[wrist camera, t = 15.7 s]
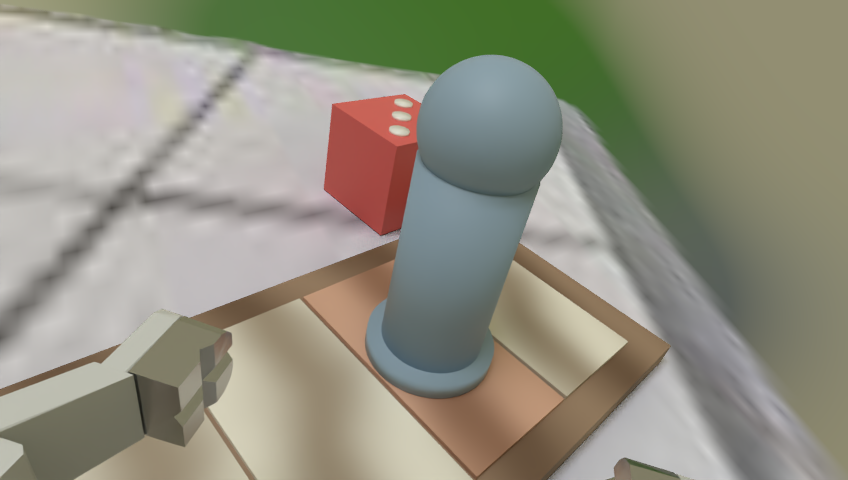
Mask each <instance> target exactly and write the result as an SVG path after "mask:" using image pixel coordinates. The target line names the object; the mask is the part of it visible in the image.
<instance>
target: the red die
mask: <svg viewBox="0 0 848 480" xmlns="http://www.w3.org/2000/svg"><path fill="white" fill-rule="evenodd" d="M420 107H421V103H419V102H418V101H416V100H414V99H412V98H411V97H409V96H407V95H405V94H403V95H396V96H388V97H381V98H373V99H366V100H358V101H351V102H343V103H336V104H332V113H331V123H330V133H329V143H328V153H327V163H326V173H325V183H324V190H326V191H327V192H328V193H329V194H330V195H332V196H333V197H334V198H335V199H337V200H338V201H339V202H340V203H341V204H343V205H344V206H345V207H346V208H348V209H349V210H350V211H351V212H352V213H354V214H355V215H356V216H357V217H359V218H360V219H361V220H362V221H364V222H365V223H366V224H367V225H368V226H370V227H371V228H372V229H373V230H375V231H376V232H377V233H378V234H379V235H384V234H386V233H389V232H392V231H395V230H397V229H400V228H401V227H402V222H403V217H404V212H405V208H406V203H407V198H408V193H409V188H410V183H411V178H412V173H413V168H414V163H415V158H416V153H417V150H418V143H417V131H416V126H417V118H418V114H419V110H420Z"/></svg>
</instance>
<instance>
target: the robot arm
mask: <svg viewBox="0 0 848 480" xmlns="http://www.w3.org/2000/svg"><path fill="white" fill-rule="evenodd" d="M231 346H232V333H230V332H228V331H225V330H222V329H220V328H217V327H214V326H211V325H208V324H205V323H202V322H200V321H197V320H194V319H191V318H188V317H185V316H182V315H179V314H176V313H173V312H170V311H167V310H164V309H161V310H159V311H156V312H154V313H153V314H152V315H151V316H150V317H149V318H148V319H147V320H146V321H145V322H144V323H143V324H142V325H140V326H139V327H138V328H137V329H136V330H135V331H134V332H133V333H132V334H131V335H130V336H129V337H128V338H127V339H126V340H125V341H124V342H123V343H122V344H121V345H120V346H119V347H118V348H117V349H116V350H115V351H114V352H113V353H112V354H111V355H110V356H109V357H108V358H106V359H105V360H104V361H103V362H102V363H101V364H100V363H97V362H92V363H89V364H87V365H84V366H81V367H79V368H76V369H73V370H71V371H68V372H65V373H63V374H60V375H57V376H55V377H52V378H49V379H47V380H44V381H41V382H39V383H36V384H33V385H30V386H28V387H25V388H22V389H20V390H17V391H14V392H12V393H9V394H6V395H4V396H1V397H0V480H74V479H76V478H77V477H79V476H81V475H82V474H84V473H86V472H87V471H89V470H91V469H92V468H94V467H96V466H98V465H99V464H101V463H103V462H104V461H106V460H108V459H109V458H111V457H113V456H114V455H116V454H118V453H119V452H121V451H123V450H125V449H126V448H128V447H130V446H131V445H133V444H135V443H136V442H138V441H140V440H141V439H143V438H144V437H145V436H144V435H146V436H150V437H153V438H156V439H159V440H162V441H166V442H169V443H172V444H175V445H179V446H182V447H186V445H187V444H188V442H189V441H190V440H191V438H192V437H193V435H194V434H195V433H196V431H197V430H198V428H199V427H200V426H201V424H202V423H203V421H204V408H207V407H209V406H211V405H213V404H215V403H217V402H218V400H219V399H220V397H221V396H222V394H223V393H224V391H225V389H226V387H227V385H228V382H229V380H230V378H231V374H232V369H233V359H232V357H231V356H230V355H229V353H228V352H227V351H228V350H229V348H230V347H231ZM614 473H615V477H613V478H610V479H607V480H694V479H690V478H687V477H684V476H681V475H678V474H675V473H673V472H670V471H667V470H664V469H660V468H657V467H654V466H651V465H647V464H644V463H641V462H637V461H634V460H631V459H628V458H623V459H621V460H619V461H618V463H617V464H616V465H615V467H614Z"/></svg>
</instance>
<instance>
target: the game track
mask: <svg viewBox="0 0 848 480" xmlns="http://www.w3.org/2000/svg"><path fill="white" fill-rule="evenodd" d="M398 242H399V239H398V240H395V241H393V242H390V243H387V244H385V245H382V246H379V247H377V248H374V249H372V250H369V251H366V252H364V253H361V254H358V255H356V256H353V257H350V258H348V259H345V260H342V261H340V262H337V263H334V264H332V265H329V266H326V267H324V268H321V269H318V270H316V271H313V272H310V273H308V274H305V275H302V276H300V277H297V278H294V279H292V280H289V281H286V282H284V283H281V284H278V285H276V286H273V287H271V288H268V289H265V290H263V291H260V292H257V293H255V294H252V295H249V296H247V297H244V298H241V299H239V300H236V301H233V302H231V303H228V304H225V305H223V306H220V307H217V308H215V309H212V310H209V311H207V312H204V313H201V314H199V315H196V316H193V317H191V319H194V320H197V321H200V322H202V323H205V324H208V325H211V326H214V327H217V328H220V329H222V330H225V331H228V332H230V333H232V346H231V347H230V348H229V350H228V351H227V352H228V353H229V355H230V356H231V357H232V359H233V369H232V374H231V378H230V380H229V382H228V385H227V387H226V389H225V391H224V393H223V394H222V396H221V397H220V399H219V400H218V402H217V403H215V404H213V405H211V406H209V407H207V408H204V421H203V423H202V424H201V426H200V427H199V428H198V430H197V431H196V433H195V434H194V435H193V437H192V438H191V440H190V441H189V442H188V444H187V445H186V447H182V446H179V445H175V444H172V443H169V442H166V441H162V440H159V439H156V438H153V437H150V436H146V435H144V436H145V437H144V438H143V439H141V440H140V441H138V442H136V443H135V444H133V445H131V446H130V447H128V448H126V449H125V450H123V451H121V452H119V453H118V454H116V455H114V456H113V457H111V458H109V459H108V460H106V461H104V462H103V463H101V464H99V465H98V466H96V467H94V468H92V469H91V470H89V471H87V472H86V473H84V474H82V475H81V476H79V477H77V478H76V479H74V480H547V479H548V478H549V477H550V476H551V475H552V474H553V473H554V472H555V471H556V470H557V469H558V468H559V467H560V466H561V465H562V464H563V462H564V461H565V460H566V459H567V458H568V457H569V456H570V455H571V454H572V453H573V452H574V451H575V450H576V449H577V448H578V447H579V446H580V445H581V444H582V443H583V442H584V441H585V440H586V439H587V438H588V436H589V435H590V434H591V433H592V432H593V431H594V430H595V429H596V428H597V427H598V426H599V425H600V424H601V423H602V422H603V421H604V420H605V419H606V418H607V417H608V416H609V415H610V414H611V413H612V412H613V410H614V409H615V408H616V407H617V406H618V405H619V404H620V403H621V402H622V401H623V400H624V399H625V398H626V397H627V396H628V395H629V394H630V393H631V392H632V391H633V390H634V389H635V388H636V387H637V385H638V384H639V383H640V382H641V381H642V380H643V379H644V378H645V377H646V376H647V375H648V374H649V373H650V372H651V371H652V370H653V369H654V368H655V367H656V366H657V365H658V364H659V363H660V362H661V360H662V359H663V357H664V356H665V354H666V353H667V351H668V350H669V348H670V347H671V346H670V345H669V344H667V343H666V342H665V341H663V340H662V339H660V338H659V337H657V336H656V335H654V334H653V333H651V332H650V331H648V330H647V329H645V328H644V327H642V326H641V325H639V324H638V323H637V322H635V321H634V320H632V319H631V318H629V317H628V316H626V315H625V314H623V313H622V312H620V311H619V310H617V309H616V308H614V307H613V306H612V305H610V304H609V303H607V302H606V301H604V300H603V299H601V298H600V297H598V296H597V295H595V294H594V293H592V292H591V291H589V290H588V289H587V288H585V287H584V286H582V285H581V284H579V283H578V282H576V281H575V280H573V279H572V278H570V277H569V276H567V275H566V274H564V273H563V272H562V271H560V270H559V269H557V268H556V267H554V266H553V265H551V264H550V263H548V262H547V261H545V260H544V259H542V258H541V257H539V256H538V255H536V254H535V253H534V252H532V251H531V250H529V249H528V248H526V247H525V246H523V245H522V244H520V243H519V244H518V247H517V250H516V253H515V255H514V258H513V261H512V264H511V266H510V269H509V272H508V275H507V278H506V280H505V283H504V286H503V289H502V291H501V294H500V297H499V300H498V302H497V305H496V308H495V311H494V313H493V316H492V319H491V322H490V325H489V327H488V328H489V329H490V331H491V334H492V337H493V341H494V355H493V358H492V361H491V364H490V366H489V369H488V371H487V374H486V376H485V377H484V379H483V380H482V382H481V383H480V384H479V385H478V386H477V387H475V388H474V389H473V390H471V391H469V392H467V393H465V394H463V395H460V396H456V397H452V398H442V399H435V398H425V397H421V396H416V395H413V394H410V393H407V392H405V391H403V390H400V389H399V388H397V387H395V386H393V385H392V384H391V383H389V382H388V381H386V380H385V379H384V378H383V377H382V376H381V375H380V374H379V373H378V372H377V371H376V370H375V368H374V367H373V365H372V364H371V362H370V360H369V358H368V356H367V352H366V348H365V336H366V331H367V325H368V321H369V317H370V315H371V313H372V311H373V310H374V309H375V307H376V306H377V305H378V304H379V303H381V302H382V301H383V300H385V299H387V296H388V292H389V287H390V282H391V277H392V272H393V267H394V262H395V257H396V252H397V247H398ZM120 345H121V344H119V345H116V346H114V347H111V348H108V349H106V350H103V351H100V352H98V353H95V354H92V355H90V356H87V357H85V358H82V359H79V360H77V361H74V362H71V363H69V364H66V365H63V366H61V367H58V368H55V369H53V370H50V371H47V372H45V373H42V374H39V375H37V376H34V377H31V378H29V379H26V380H23V381H21V382H18V383H15V384H13V385H10V386H7V387H5V388H2V389H0V397H1V396H4V395H6V394H9V393H12V392H14V391H17V390H20V389H22V388H25V387H28V386H30V385H33V384H36V383H39V382H41V381H44V380H47V379H49V378H52V377H55V376H57V375H60V374H63V373H65V372H68V371H71V370H73V369H76V368H79V367H81V366H84V365H87V364H89V363H92V362H97V363H100V364H101V363H102V362H103V361H104V360H105V359H106V358H108V357H109V356H110V355H111V354H112V353H113V352H114V351H115V350H116V349H117V348H118V347H119V346H120Z"/></svg>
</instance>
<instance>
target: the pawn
mask: <svg viewBox="0 0 848 480" xmlns="http://www.w3.org/2000/svg"><path fill="white" fill-rule="evenodd" d="M416 131H417V143H418V150H417V153H416V158H415V163H414V168H413V173H412V178H411V183H410V188H409V193H408V198H407V203H406V208H405V212H404V217H403V222H402V227H401V232H400V237H399V242H398V247H397V252H396V257H395V262H394V267H393V272H392V277H391V282H390V287H389V292H388V296H387V299H385V300H383V301H382V302H381V303H379V304H378V305H377V306H376V307H375V309H374V310H373V311H372V313H371V315H370V317H369V321H368V325H367V331H366V336H365V348H366V352H367V356H368V358H369V360H370V362H371V364H372V365H373V367H374V368H375V370H376V371H377V372H378V373H379V374H380V375H381V376H382V377H383V378H384V379H385V380H386V381H388V382H389V383H391V384H392V385H393V386H395V387H397V388H399V389H400V390H403V391H405V392H407V393H410V394H413V395H416V396H421V397H425V398H435V399H442V398H452V397H456V396H460V395H463V394H465V393H467V392H469V391H471V390H473V389H474V388H475V387H477V386H478V385H479V384H480V383H481V382H482V380H483V379H484V377H485V376H486V374H487V371H488V369H489V366H490V364H491V361H492V358H493V355H494V341H493V337H492V334H491V331H490V329H489V328H488V327H489V325H490V322H491V319H492V316H493V313H494V311H495V308H496V305H497V302H498V300H499V297H500V294H501V291H502V289H503V286H504V283H505V280H506V278H507V275H508V272H509V269H510V266H511V264H512V261H513V258H514V255H515V253H516V250H517V247H518V244H519V242H520V239H521V236H522V233H523V230H524V228H525V225H526V222H527V219H528V217H529V214H530V211H531V208H532V206H533V203H534V200H535V197H536V195H537V192H538V189H539V186H540V181H541V180H542V179H543V177H544V176H545V175H546V174H547V173H548V172H549V170H550V168H551V167H552V165H553V163H554V161H555V159H556V157H557V154H558V152H559V148H560V145H561V140H562V114H561V110H560V106H559V103H558V100H557V98H556V96H555V93H554V91H553V90H552V88H551V87H550V85H549V84H548V82H547V81H546V80H545V79H544V78H543V77H542V76H541V75H540V74H539V73H538V72H537V71H536V70H534V69H533V68H532V67H530V66H529V65H527V64H525V63H523V62H521V61H519V60H516V59H514V58H511V57H506V56H501V55H482V56H477V57H472V58H469V59H466V60H463V61H461V62H459V63H457V64H455V65H453V66H452V67H450V68H449V69H448V70H446V71H445V72H444V73H443V74H441V75H440V76H439V77H438V78H437V79H436V81H435V82H434V83H433V84H432V86H431V87H430V88H429V90H428V92H427V93H426V95H425V97H424V99H423V101H422V104H421V107H420V110H419V114H418V118H417V126H416Z"/></svg>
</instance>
